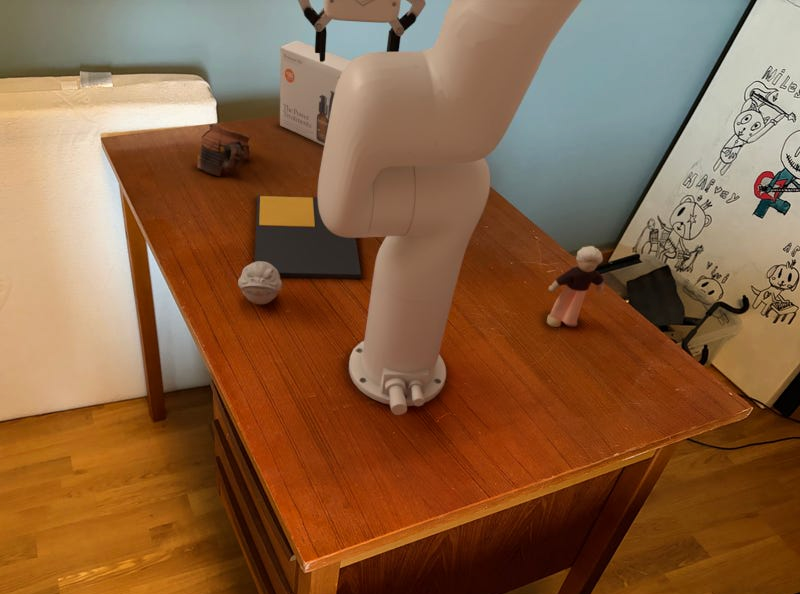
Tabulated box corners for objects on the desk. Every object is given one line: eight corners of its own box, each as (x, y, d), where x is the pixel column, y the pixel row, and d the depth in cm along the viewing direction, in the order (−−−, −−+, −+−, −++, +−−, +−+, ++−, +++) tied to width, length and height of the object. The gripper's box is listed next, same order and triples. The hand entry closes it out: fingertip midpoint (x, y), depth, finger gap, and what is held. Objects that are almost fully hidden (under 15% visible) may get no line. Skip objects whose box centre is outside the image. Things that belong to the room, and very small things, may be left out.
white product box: (277, 127, 140) (278, 45, 129) (295, 119, 143) (298, 38, 132) (359, 164, 130) (368, 79, 120) (376, 154, 134) (387, 71, 123)
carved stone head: (236, 316, 96) (234, 275, 92) (241, 285, 101) (240, 245, 97) (279, 319, 96) (280, 278, 92) (283, 288, 102) (284, 248, 97)
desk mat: (360, 278, 104) (361, 273, 104) (254, 276, 103) (254, 271, 103) (349, 202, 120) (350, 197, 120) (257, 199, 119) (257, 194, 118)
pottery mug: (185, 163, 128) (197, 118, 125) (229, 176, 133) (241, 133, 131) (212, 176, 119) (226, 128, 116) (258, 190, 124) (272, 144, 122)
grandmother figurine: (547, 332, 98) (576, 259, 89) (534, 315, 100) (561, 242, 92) (595, 326, 100) (627, 253, 91) (581, 309, 102) (611, 236, 94)
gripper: (299, -78, 83) (294, 67, 95) (441, -69, 84) (419, 73, 96) (299, -91, 89) (294, 47, 100) (432, -82, 90) (412, 53, 102)
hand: (355, 60), depth 98 cm, fingers open, 9 cm apart
